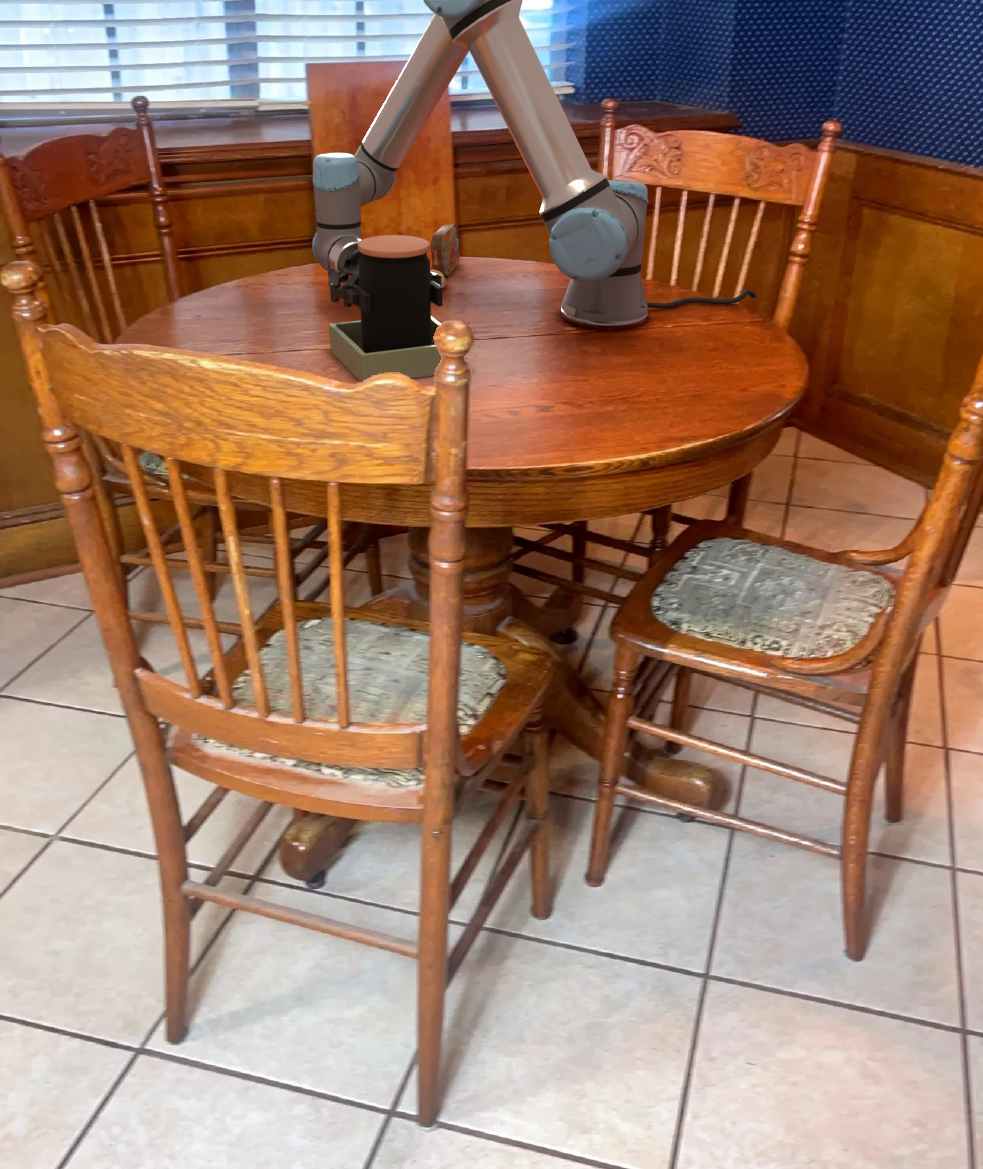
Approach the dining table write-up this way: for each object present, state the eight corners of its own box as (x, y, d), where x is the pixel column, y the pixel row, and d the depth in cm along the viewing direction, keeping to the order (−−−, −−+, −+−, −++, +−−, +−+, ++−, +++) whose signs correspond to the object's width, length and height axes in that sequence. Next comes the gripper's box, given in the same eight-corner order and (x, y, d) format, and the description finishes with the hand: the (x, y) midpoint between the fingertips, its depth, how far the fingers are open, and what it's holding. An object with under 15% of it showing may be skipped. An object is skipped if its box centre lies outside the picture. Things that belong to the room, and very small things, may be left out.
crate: (427, 339, 172) (427, 312, 169) (466, 371, 159) (467, 342, 156) (330, 351, 166) (328, 323, 163) (363, 385, 153) (362, 355, 150)
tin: (444, 280, 203) (443, 236, 199) (428, 279, 204) (428, 235, 200) (461, 262, 216) (461, 220, 212) (446, 261, 217) (446, 219, 212)
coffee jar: (444, 358, 164) (444, 241, 154) (404, 377, 156) (401, 255, 147) (390, 345, 169) (386, 231, 159) (349, 363, 161) (342, 244, 151)
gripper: (423, 282, 177) (475, 317, 160) (291, 295, 169) (330, 334, 151) (423, 237, 173) (476, 268, 156) (287, 248, 165) (327, 283, 148)
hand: (404, 301), depth 154 cm, fingers closed on coffee jar, 11 cm apart
